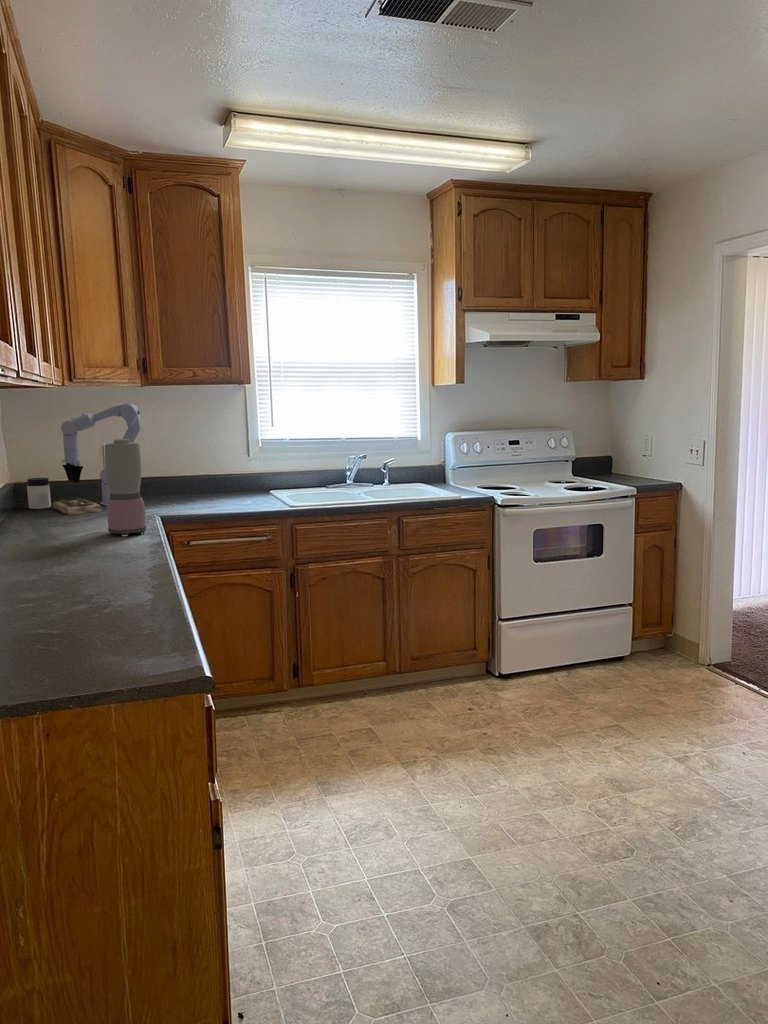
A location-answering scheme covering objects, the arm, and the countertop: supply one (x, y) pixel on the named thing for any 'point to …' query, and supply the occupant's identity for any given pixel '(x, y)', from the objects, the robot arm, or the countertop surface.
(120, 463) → the blender
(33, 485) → the jar
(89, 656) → the countertop surface
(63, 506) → the board
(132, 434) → the robot arm
